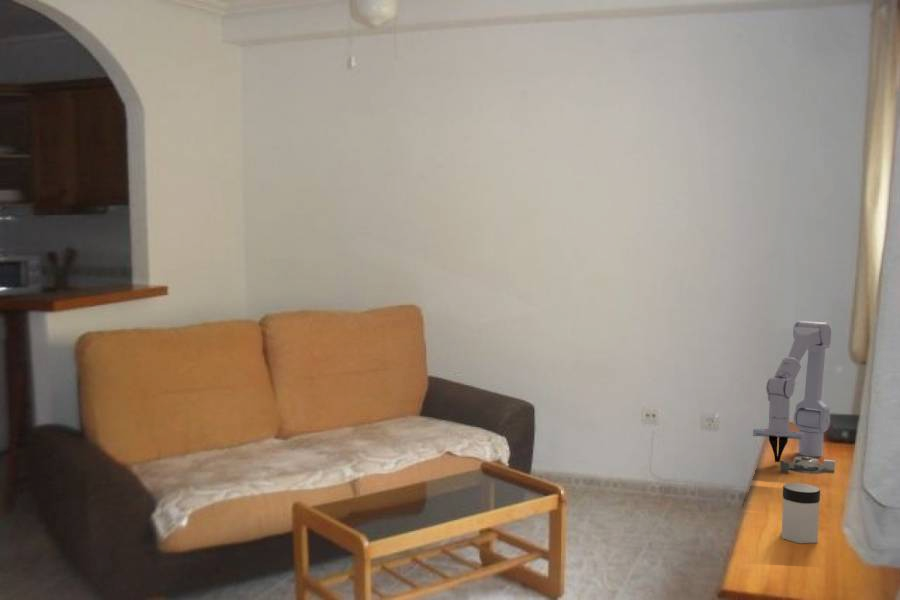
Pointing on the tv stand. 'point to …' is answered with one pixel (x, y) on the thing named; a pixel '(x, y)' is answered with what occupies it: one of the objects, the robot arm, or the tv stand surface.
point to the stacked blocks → (784, 466)
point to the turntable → (827, 466)
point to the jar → (800, 513)
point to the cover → (806, 463)
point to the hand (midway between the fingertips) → (777, 461)
